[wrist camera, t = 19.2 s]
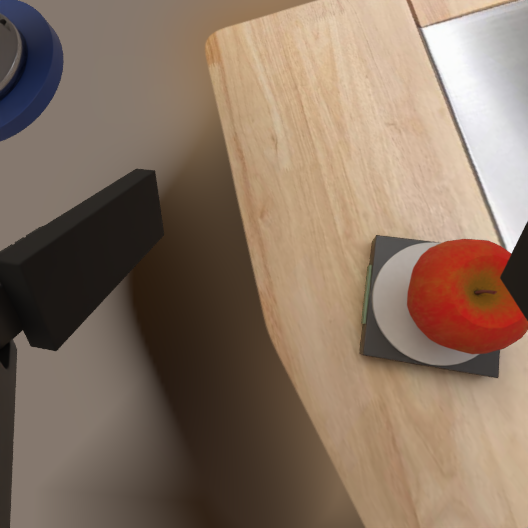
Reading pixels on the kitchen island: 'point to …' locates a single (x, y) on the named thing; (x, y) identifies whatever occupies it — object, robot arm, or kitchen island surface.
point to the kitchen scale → (406, 313)
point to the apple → (465, 297)
